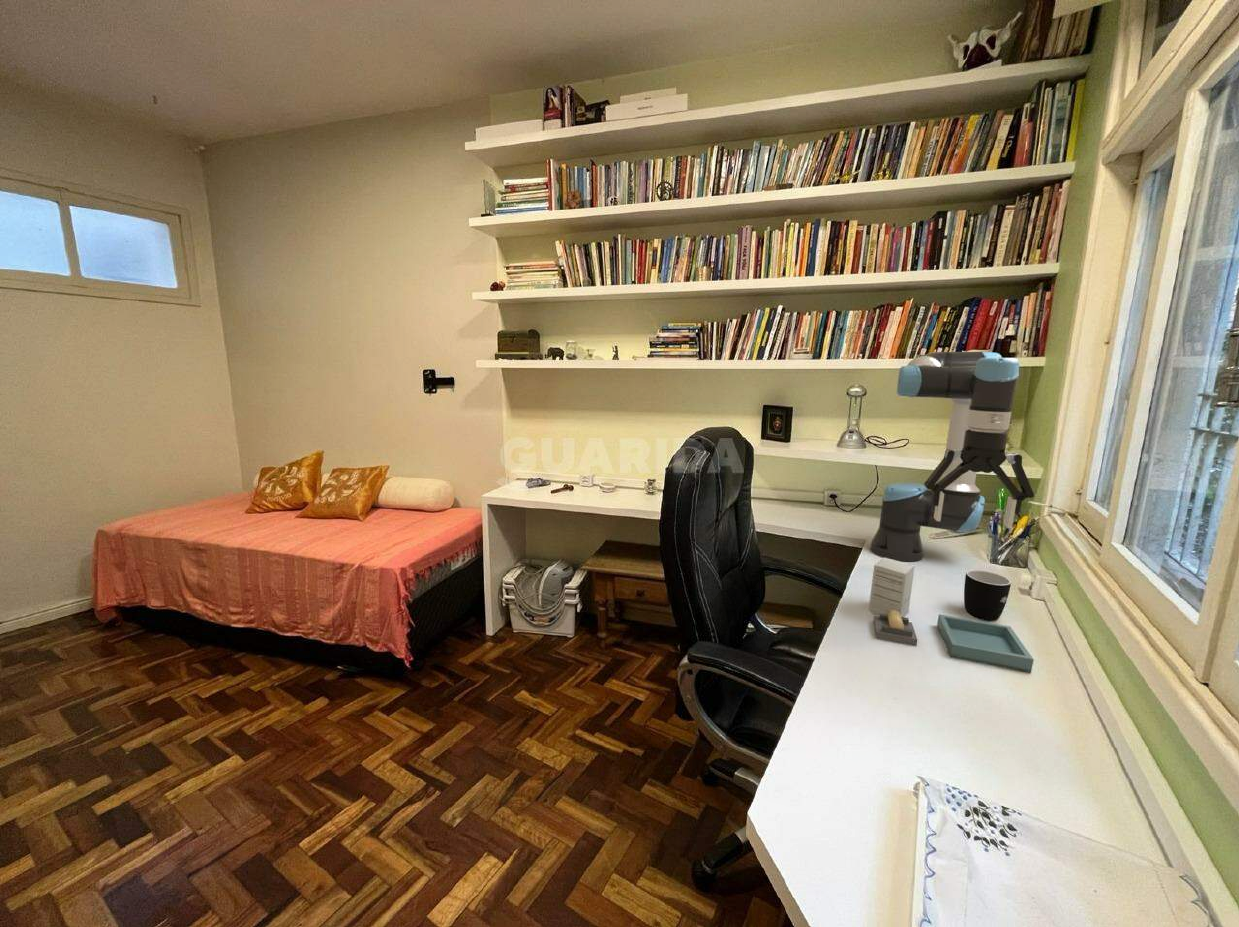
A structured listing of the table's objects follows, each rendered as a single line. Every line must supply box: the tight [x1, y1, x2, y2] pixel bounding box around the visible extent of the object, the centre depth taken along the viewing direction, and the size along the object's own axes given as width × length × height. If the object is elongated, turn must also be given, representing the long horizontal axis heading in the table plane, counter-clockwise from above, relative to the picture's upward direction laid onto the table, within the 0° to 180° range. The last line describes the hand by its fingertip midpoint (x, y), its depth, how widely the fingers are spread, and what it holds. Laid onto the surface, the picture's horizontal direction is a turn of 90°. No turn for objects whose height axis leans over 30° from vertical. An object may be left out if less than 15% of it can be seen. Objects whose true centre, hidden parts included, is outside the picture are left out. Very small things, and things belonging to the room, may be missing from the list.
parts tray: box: [936, 613, 1035, 674], centre depth 110 cm, size 14×14×3 cm
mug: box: [963, 569, 1012, 622], centre depth 125 cm, size 12×9×10 cm
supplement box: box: [868, 557, 915, 617], centre depth 125 cm, size 7×7×13 cm
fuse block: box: [872, 610, 919, 647], centre depth 115 cm, size 8×8×4 cm
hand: (971, 523), depth 114 cm, fingers open, 13 cm apart
